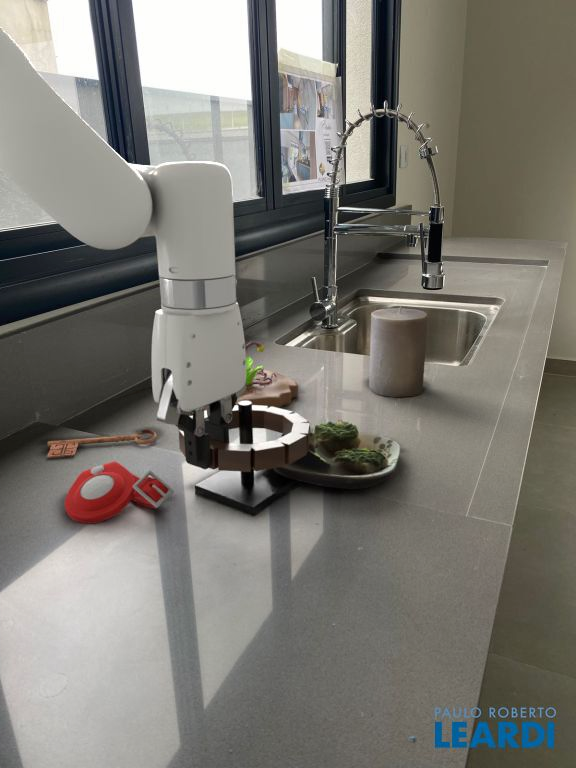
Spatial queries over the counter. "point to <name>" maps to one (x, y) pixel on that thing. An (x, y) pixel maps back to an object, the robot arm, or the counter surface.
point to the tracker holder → (112, 492)
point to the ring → (265, 452)
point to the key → (76, 442)
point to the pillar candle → (397, 351)
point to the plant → (266, 385)
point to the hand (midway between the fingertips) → (207, 459)
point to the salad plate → (344, 458)
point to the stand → (246, 478)
